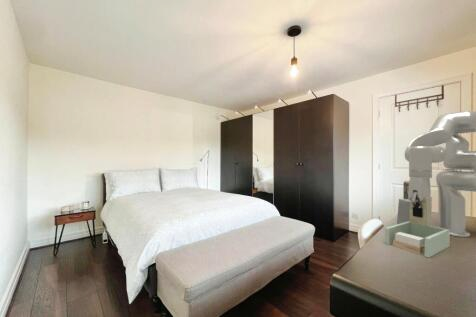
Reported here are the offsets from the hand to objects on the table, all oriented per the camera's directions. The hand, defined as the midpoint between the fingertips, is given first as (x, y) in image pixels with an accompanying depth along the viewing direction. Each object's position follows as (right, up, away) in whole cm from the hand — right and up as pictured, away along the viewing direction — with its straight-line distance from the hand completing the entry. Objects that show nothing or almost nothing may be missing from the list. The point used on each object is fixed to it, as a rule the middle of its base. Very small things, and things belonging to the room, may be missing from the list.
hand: (420, 215), depth 90 cm
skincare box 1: (+10, -13, +18) cm, 24 cm away
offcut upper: (-9, -10, -5) cm, 14 cm away
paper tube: (+18, -13, +26) cm, 34 cm away
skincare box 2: (0, -4, 0) cm, 4 cm away
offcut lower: (-9, -13, -5) cm, 17 cm away
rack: (-3, -12, -2) cm, 13 cm away
